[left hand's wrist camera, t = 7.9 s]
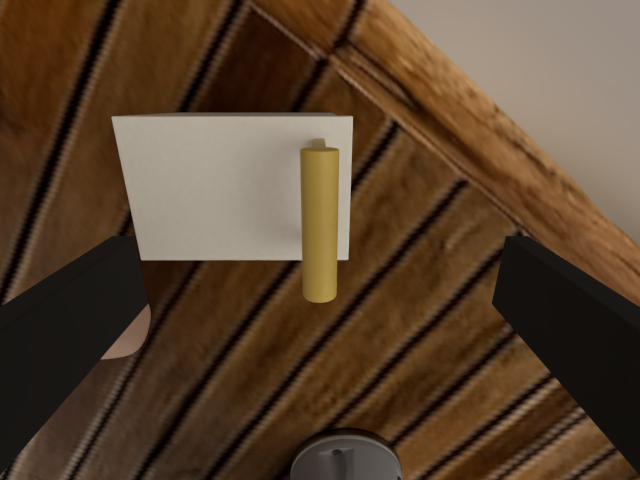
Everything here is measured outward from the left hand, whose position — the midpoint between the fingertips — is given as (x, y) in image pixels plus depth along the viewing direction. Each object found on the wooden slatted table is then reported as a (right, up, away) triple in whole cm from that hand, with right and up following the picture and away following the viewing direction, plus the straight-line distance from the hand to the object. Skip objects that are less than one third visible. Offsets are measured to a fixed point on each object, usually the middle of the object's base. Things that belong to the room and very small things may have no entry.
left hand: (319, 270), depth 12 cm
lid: (-5, +4, +12) cm, 14 cm away
